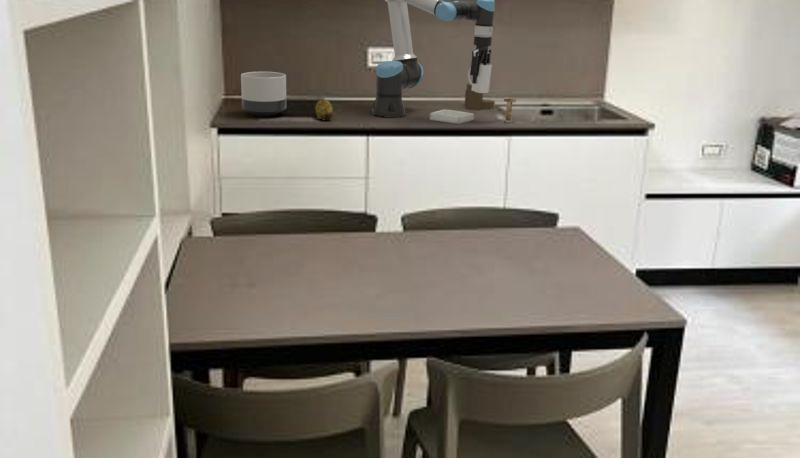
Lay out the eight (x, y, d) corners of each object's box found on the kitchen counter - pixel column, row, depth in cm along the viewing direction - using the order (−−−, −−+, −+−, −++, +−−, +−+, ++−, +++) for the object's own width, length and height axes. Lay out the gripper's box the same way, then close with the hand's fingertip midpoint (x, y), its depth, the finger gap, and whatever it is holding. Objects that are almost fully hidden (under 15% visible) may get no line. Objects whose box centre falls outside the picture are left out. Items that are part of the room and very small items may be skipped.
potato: (312, 121, 338) (312, 102, 335) (316, 116, 350) (316, 98, 347) (332, 122, 337) (332, 103, 335) (335, 116, 350) (335, 98, 347)
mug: (490, 91, 346) (492, 63, 342) (488, 93, 340) (491, 65, 336) (467, 89, 348) (469, 62, 344) (465, 91, 341) (467, 63, 337)
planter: (273, 120, 336) (273, 78, 331) (234, 116, 342) (232, 75, 337) (294, 113, 354) (293, 73, 348) (255, 109, 360) (254, 70, 354)
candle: (483, 111, 374) (485, 79, 369) (457, 108, 380) (459, 77, 376) (495, 107, 385) (497, 77, 380) (469, 104, 391) (471, 74, 387)
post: (501, 121, 351) (502, 98, 348) (505, 120, 354) (506, 97, 351) (511, 123, 348) (513, 99, 345) (515, 121, 352) (517, 98, 348)
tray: (429, 119, 350) (430, 113, 349) (444, 115, 360) (444, 109, 359) (459, 124, 342) (459, 117, 341) (473, 120, 352) (473, 113, 351)
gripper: (480, 38, 327) (475, 93, 334) (501, 35, 342) (496, 88, 350) (464, 36, 330) (460, 91, 338) (485, 33, 346) (481, 86, 354)
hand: (478, 89), depth 344 cm, fingers closed on mug, 6 cm apart
